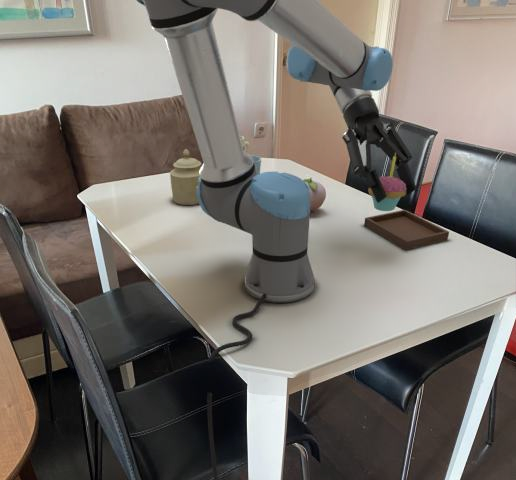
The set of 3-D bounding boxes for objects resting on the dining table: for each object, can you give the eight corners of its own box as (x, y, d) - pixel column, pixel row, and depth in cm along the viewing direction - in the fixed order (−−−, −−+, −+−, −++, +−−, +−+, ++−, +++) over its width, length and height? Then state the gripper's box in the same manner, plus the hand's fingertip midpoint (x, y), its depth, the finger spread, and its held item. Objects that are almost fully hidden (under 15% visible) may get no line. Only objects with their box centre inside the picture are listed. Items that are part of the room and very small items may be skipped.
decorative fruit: (330, 214, 145) (333, 180, 139) (305, 219, 142) (307, 184, 136) (314, 204, 152) (315, 170, 146) (290, 208, 149) (291, 174, 143)
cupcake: (374, 199, 122) (380, 147, 115) (408, 205, 118) (417, 152, 111) (360, 210, 116) (367, 157, 109) (396, 217, 113) (405, 162, 106)
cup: (237, 188, 164) (236, 155, 158) (260, 187, 164) (260, 155, 158) (237, 196, 158) (236, 162, 152) (262, 195, 158) (261, 161, 152)
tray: (447, 240, 130) (449, 231, 128) (405, 250, 125) (406, 241, 124) (403, 217, 143) (404, 209, 141) (364, 225, 138) (364, 217, 137)
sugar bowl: (210, 188, 164) (207, 140, 155) (225, 199, 156) (223, 148, 147) (167, 196, 158) (161, 147, 149) (180, 207, 150) (175, 156, 141)
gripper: (382, 111, 122) (420, 194, 121) (312, 122, 113) (352, 212, 112) (401, 90, 116) (441, 178, 114) (328, 100, 107) (371, 196, 105)
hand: (397, 195), depth 113 cm, fingers closed on cupcake, 8 cm apart
